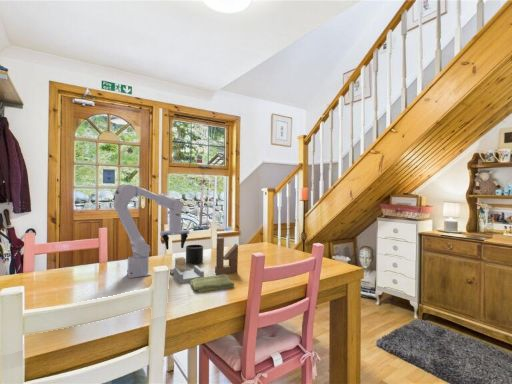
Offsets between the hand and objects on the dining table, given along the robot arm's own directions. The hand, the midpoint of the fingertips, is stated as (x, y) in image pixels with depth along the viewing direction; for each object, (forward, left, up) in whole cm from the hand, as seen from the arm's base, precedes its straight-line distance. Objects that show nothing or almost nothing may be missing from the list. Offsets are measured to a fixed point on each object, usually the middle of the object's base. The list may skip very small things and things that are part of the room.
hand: (174, 248), depth 148 cm
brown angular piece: (+21, -19, -11) cm, 30 cm away
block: (+1, -7, -10) cm, 12 cm away
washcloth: (+8, -32, -11) cm, 35 cm away
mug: (+13, +6, -11) cm, 18 cm away
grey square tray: (+2, -19, -10) cm, 21 cm away
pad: (+1, -7, -10) cm, 13 cm away
